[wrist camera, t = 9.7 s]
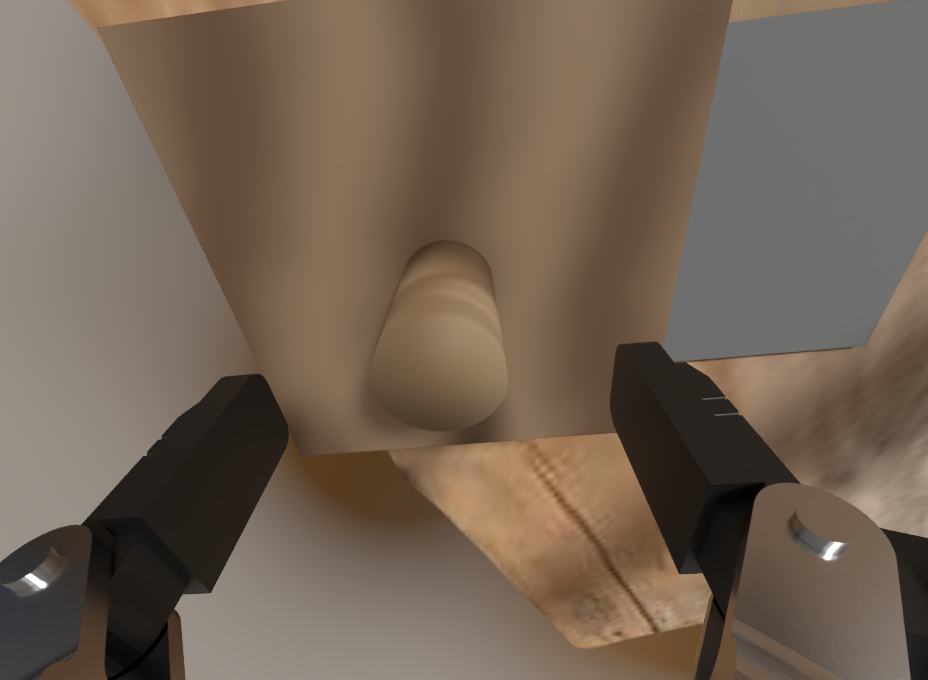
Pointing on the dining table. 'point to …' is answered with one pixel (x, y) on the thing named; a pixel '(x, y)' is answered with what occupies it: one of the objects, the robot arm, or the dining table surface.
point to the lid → (434, 198)
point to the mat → (806, 183)
